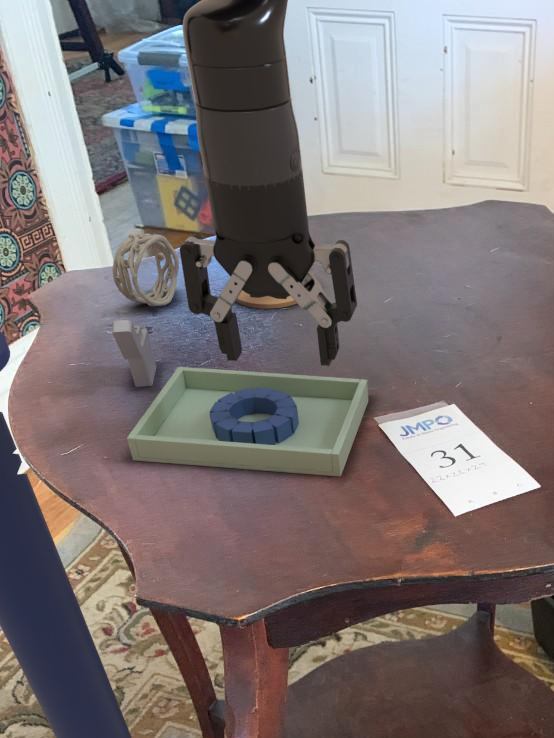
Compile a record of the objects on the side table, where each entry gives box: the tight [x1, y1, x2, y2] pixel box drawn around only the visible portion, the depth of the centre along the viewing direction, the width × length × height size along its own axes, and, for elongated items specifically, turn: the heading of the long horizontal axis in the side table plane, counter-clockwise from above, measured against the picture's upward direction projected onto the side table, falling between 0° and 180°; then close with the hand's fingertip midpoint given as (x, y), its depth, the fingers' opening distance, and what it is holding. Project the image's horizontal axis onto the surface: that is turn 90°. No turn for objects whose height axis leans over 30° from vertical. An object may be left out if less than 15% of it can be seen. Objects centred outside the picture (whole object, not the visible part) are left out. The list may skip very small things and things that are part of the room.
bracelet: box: [112, 232, 180, 307], centre depth 100 cm, size 4×8×8 cm, turn 157°
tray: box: [126, 366, 369, 477], centre depth 81 cm, size 19×13×2 cm
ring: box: [209, 388, 299, 445], centre depth 81 cm, size 8×8×2 cm
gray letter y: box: [111, 319, 157, 388], centre depth 85 cm, size 7×2×8 cm, turn 8°
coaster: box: [235, 290, 298, 310], centre depth 105 cm, size 10×10×1 cm
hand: (280, 359), depth 77 cm, fingers open, 8 cm apart
